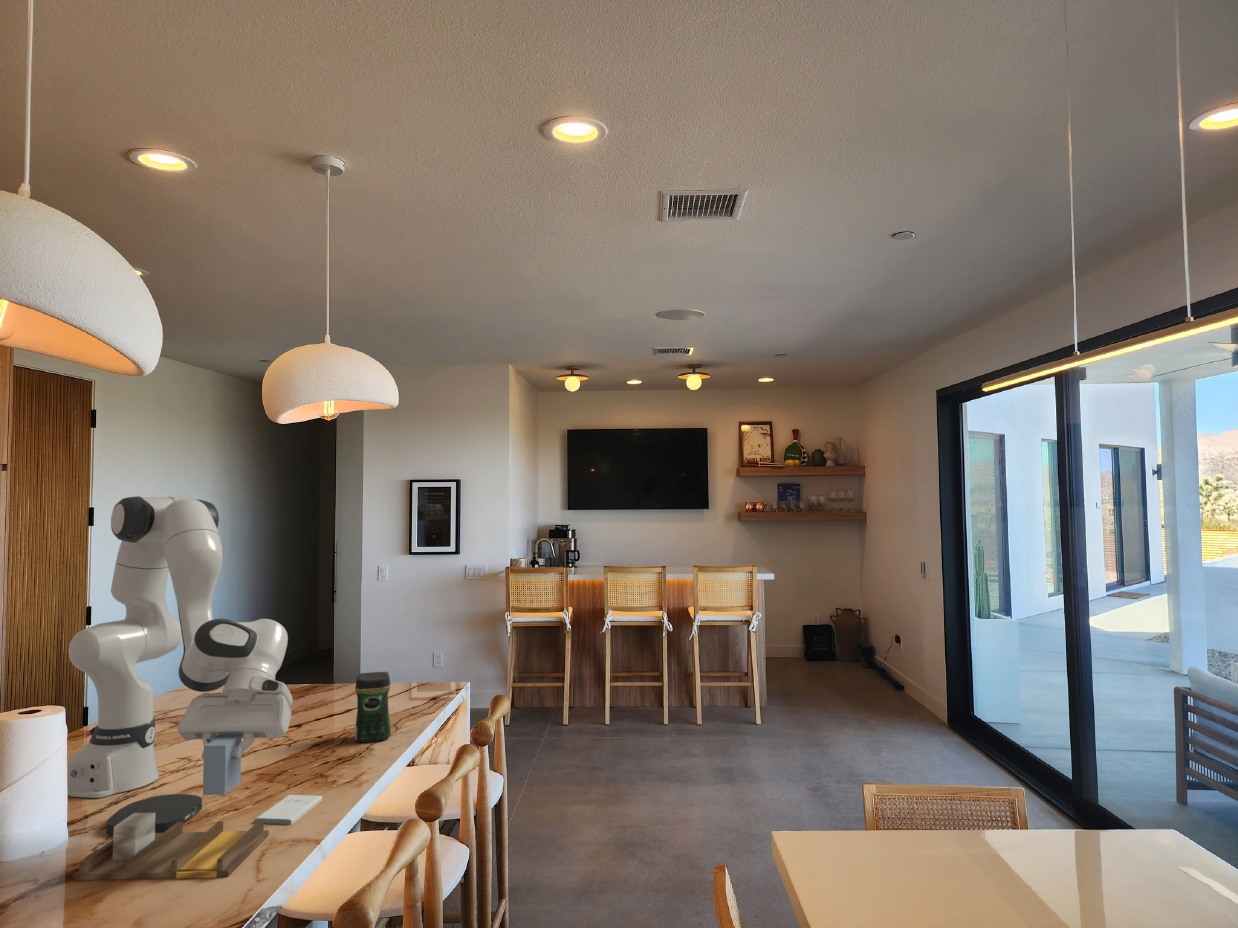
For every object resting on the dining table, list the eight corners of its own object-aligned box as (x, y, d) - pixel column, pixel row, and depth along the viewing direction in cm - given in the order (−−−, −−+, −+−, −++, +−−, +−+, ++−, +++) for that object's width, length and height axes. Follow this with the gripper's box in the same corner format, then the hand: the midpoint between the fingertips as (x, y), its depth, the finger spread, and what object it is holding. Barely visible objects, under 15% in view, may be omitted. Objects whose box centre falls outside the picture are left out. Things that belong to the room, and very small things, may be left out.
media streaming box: (140, 807, 159) (141, 793, 159) (208, 805, 160) (209, 791, 160) (97, 837, 144) (97, 822, 145) (172, 835, 145) (173, 820, 146)
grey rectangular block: (202, 794, 134) (204, 745, 134) (219, 782, 140) (220, 735, 140) (224, 794, 134) (225, 745, 134) (240, 782, 140) (241, 735, 140)
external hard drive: (254, 825, 150) (288, 801, 163) (291, 827, 149) (322, 802, 162) (254, 817, 150) (288, 793, 163) (291, 819, 149) (322, 794, 162)
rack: (72, 881, 127) (73, 840, 127) (131, 838, 143) (132, 802, 144) (227, 877, 128) (228, 836, 128) (268, 835, 144) (269, 799, 145)
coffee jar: (390, 732, 209) (391, 668, 210) (389, 741, 202) (390, 674, 203) (355, 735, 207) (356, 670, 208) (353, 744, 199) (354, 676, 200)
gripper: (189, 685, 144) (158, 751, 134) (292, 683, 145) (269, 749, 135) (200, 701, 149) (171, 766, 138) (300, 699, 149) (279, 764, 139)
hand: (221, 758), depth 137 cm, fingers closed on grey rectangular block, 4 cm apart
